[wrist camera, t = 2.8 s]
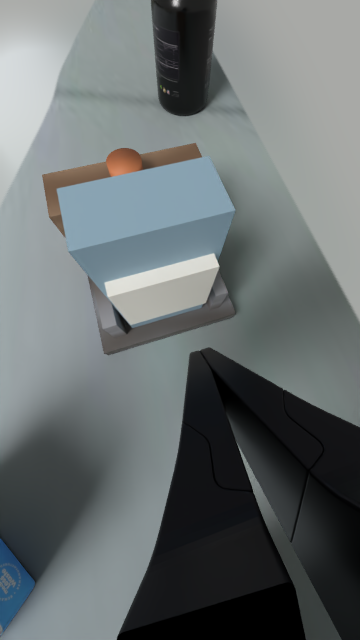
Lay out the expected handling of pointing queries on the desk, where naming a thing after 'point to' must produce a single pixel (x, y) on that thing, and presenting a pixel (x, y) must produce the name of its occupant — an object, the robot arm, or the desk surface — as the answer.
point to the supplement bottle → (183, 52)
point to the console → (110, 321)
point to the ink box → (12, 586)
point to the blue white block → (150, 236)
